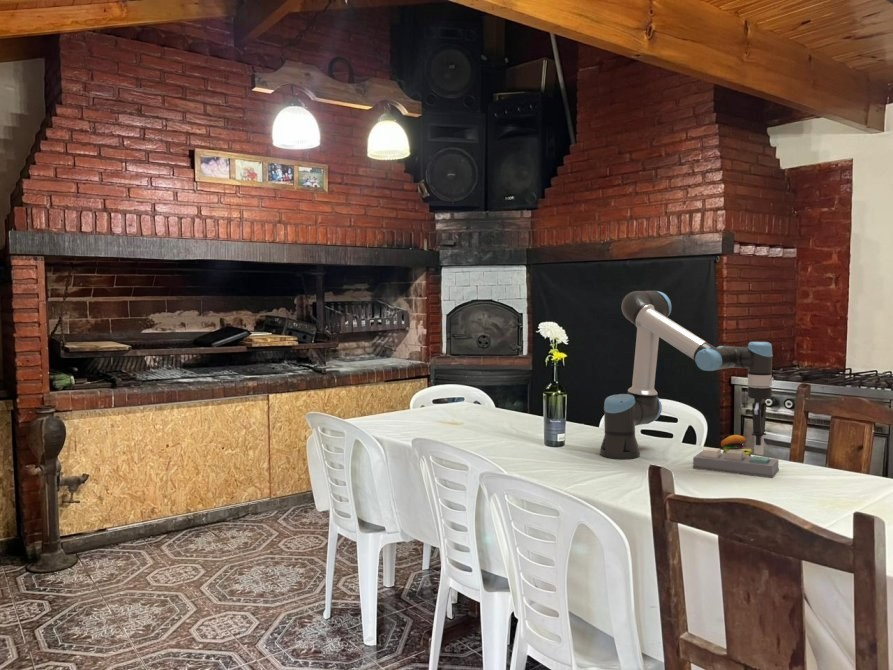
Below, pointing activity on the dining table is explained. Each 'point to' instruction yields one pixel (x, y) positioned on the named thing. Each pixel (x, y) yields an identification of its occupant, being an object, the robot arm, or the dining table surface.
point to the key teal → (760, 459)
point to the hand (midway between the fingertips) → (758, 453)
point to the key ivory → (711, 452)
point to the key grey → (735, 455)
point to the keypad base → (736, 465)
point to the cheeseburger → (735, 444)
